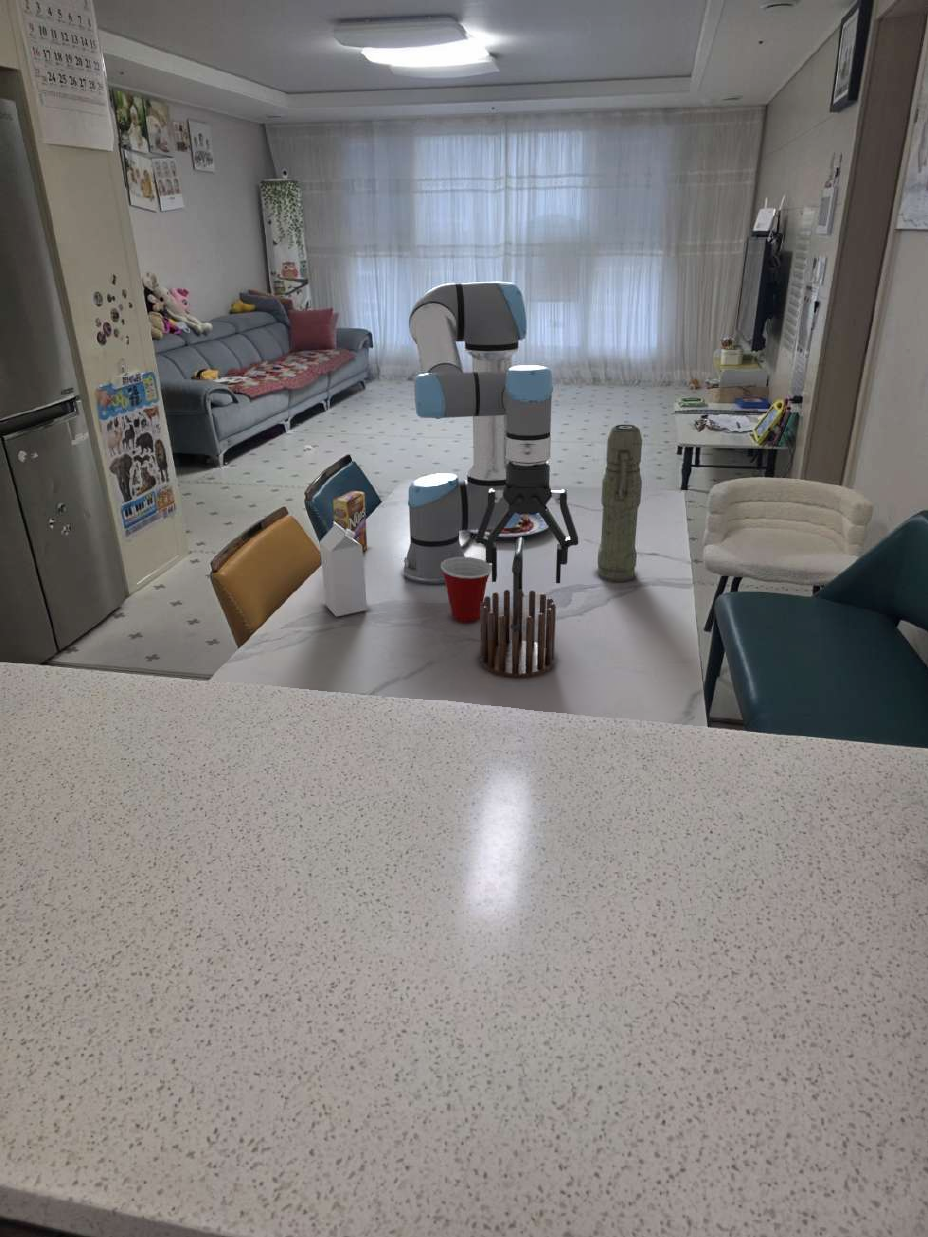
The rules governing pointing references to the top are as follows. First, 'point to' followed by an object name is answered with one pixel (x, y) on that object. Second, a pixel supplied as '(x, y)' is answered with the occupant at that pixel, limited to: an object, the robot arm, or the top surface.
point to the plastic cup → (465, 586)
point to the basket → (517, 630)
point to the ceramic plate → (522, 527)
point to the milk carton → (343, 572)
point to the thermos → (620, 504)
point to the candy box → (352, 515)
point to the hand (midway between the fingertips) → (526, 579)
